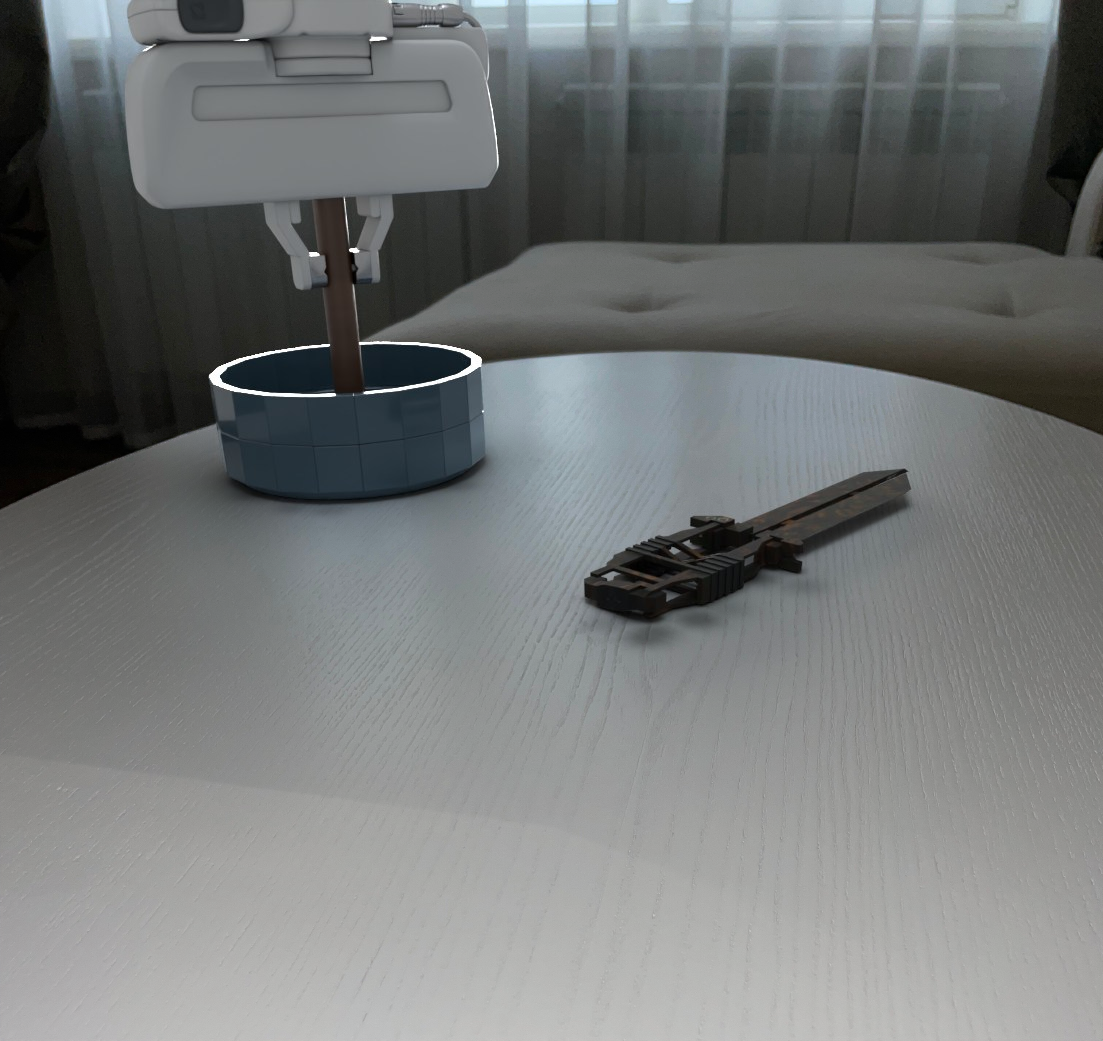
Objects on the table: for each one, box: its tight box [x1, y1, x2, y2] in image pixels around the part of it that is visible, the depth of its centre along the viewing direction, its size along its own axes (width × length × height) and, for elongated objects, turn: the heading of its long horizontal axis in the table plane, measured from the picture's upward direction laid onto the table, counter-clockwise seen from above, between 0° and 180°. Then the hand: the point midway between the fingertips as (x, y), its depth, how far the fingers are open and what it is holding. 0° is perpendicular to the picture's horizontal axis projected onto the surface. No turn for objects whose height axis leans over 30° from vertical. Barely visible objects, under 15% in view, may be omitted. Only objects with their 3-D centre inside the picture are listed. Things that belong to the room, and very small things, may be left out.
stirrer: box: [311, 197, 365, 394], centre depth 66 cm, size 4×4×16 cm
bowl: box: [208, 341, 487, 500], centre depth 71 cm, size 16×16×6 cm
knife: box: [583, 468, 912, 619], centre depth 57 cm, size 25×6×1 cm, turn 130°
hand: (337, 285), depth 66 cm, fingers closed on stirrer, 2 cm apart
